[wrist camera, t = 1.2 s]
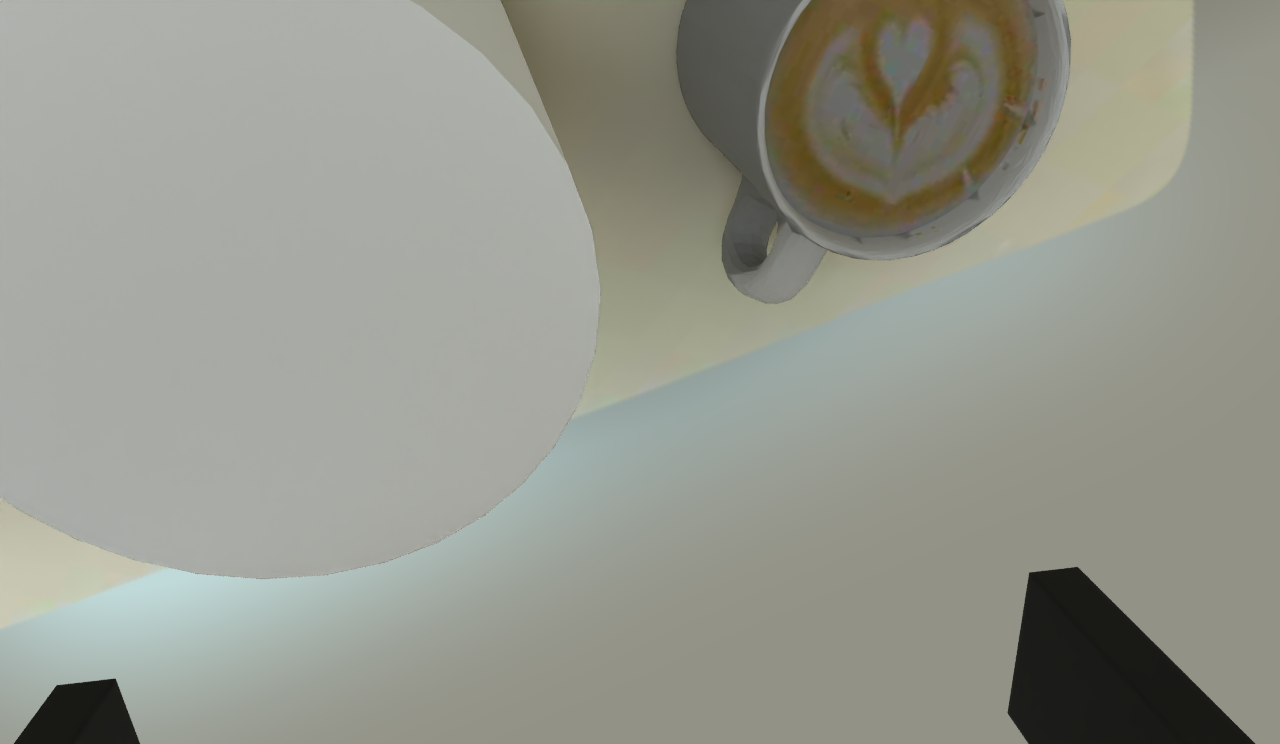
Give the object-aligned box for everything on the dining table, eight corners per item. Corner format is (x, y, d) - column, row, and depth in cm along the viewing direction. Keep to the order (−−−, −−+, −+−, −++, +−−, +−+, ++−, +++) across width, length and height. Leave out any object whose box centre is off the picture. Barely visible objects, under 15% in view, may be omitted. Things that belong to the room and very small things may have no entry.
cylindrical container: (535, -2, 30) (730, 280, 9) (413, 144, 32) (346, 656, 11) (369, -167, 27) (93, -303, 6) (242, 6, 29) (-317, 369, 8)
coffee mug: (782, -160, 29) (916, -171, 21) (963, 7, 34) (1135, 53, 25) (580, 161, 34) (623, 257, 25) (762, 272, 38) (851, 387, 30)
